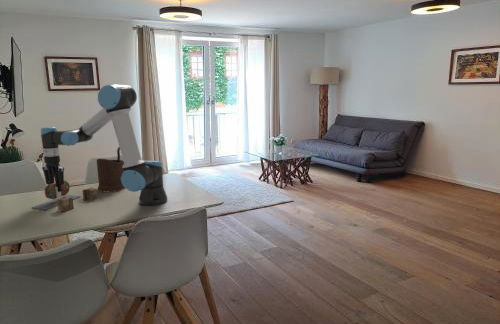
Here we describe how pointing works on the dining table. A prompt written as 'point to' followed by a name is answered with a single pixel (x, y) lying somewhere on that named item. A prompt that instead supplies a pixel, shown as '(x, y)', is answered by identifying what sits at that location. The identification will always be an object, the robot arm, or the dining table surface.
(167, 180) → the dining table surface
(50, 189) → the tin
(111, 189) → the brown tapered container
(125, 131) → the robot arm
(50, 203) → the mat
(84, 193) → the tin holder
